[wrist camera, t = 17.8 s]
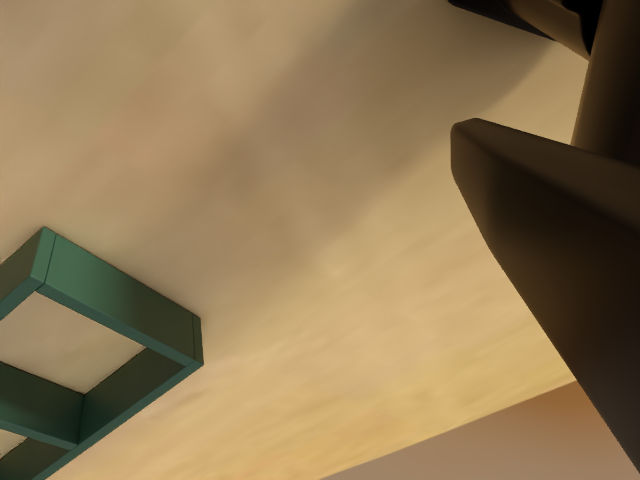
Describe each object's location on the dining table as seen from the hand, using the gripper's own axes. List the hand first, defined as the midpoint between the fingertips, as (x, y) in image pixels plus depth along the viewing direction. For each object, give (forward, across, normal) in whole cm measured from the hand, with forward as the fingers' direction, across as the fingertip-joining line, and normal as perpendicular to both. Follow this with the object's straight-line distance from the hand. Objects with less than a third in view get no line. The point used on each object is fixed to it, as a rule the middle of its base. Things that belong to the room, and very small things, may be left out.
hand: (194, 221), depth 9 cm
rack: (+12, +14, +15) cm, 23 cm away
